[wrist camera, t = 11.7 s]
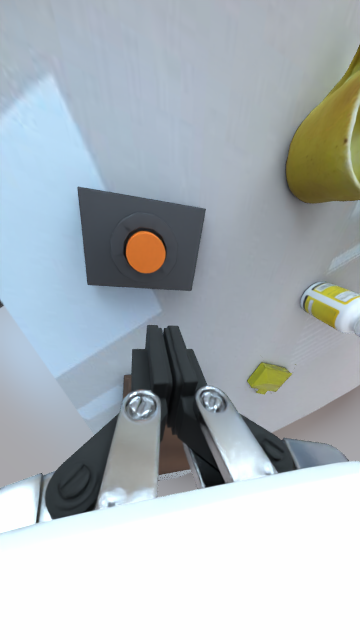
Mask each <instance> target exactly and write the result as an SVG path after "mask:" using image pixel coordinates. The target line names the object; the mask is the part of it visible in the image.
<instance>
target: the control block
mask: <svg viewBox="0 0 360 640" xmlns="http://www.w3.org/2000/svg"><path fill="white" fill-rule="evenodd" d="M78 196H79V206H80V216H81V225H82V235H83V244H84V254H85V264H86V273H87V283H88V285H99V286H116V287H133V288H150V289H167V290H184V291H191V290H192V284H193V278H194V273H195V267H196V261H197V256H198V250H199V244H200V239H201V233H202V227H203V222H204V216H205V210H206V209H204V208H198V207H192V206H187V205H181V204H175V203H169V202H164V201H158V200H152V199H146V198H140V197H135V196H129V195H123V194H117V193H112V192H106V191H100V190H94V189H89V188H83V187H78ZM140 231H148V232H151V233H153V234H155V235H156V236H157V237H158V238H159V239H160V240H161V242H162V243H163V245H164V248H165V260H164V263H163V265H162V266H161V267H160V268H159V269H158V270H157V271H155V272H152V273H141V272H138V271H137V270H135V269H134V268H133V267H132V266H131V265H130V264H129V262H128V260H127V257H126V248H127V243H128V241H129V239H130V237H131V236H132V235H134V234H135V233H137V232H140Z"/></svg>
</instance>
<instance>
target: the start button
mask: <svg viewBox="0 0 360 640" xmlns="http://www.w3.org/2000/svg"><path fill="white" fill-rule="evenodd" d="M126 257H127V260H128V262H129V264H130V265H131V266H132V267H133V268H134V269H135V270H137V271H138V272H141V273H152V272H155V271H157V270H158V269H159V268H160V267H161V266H162V265H163V263H164V260H165V248H164V245H163V243H162V242H161V240H160V239H159V238H158V237H157V236H156V235H155V234H153V233H151V232H148V231H140V232H137V233H135V234H134V235H132V236H131V237H130V239H129V241H128V243H127V248H126Z"/></svg>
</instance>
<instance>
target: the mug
mask: <svg viewBox="0 0 360 640" xmlns="http://www.w3.org/2000/svg"><path fill="white" fill-rule="evenodd" d="M286 177H287V182H288V186H289V188H290V190H291V192H292V193H293V194H294V195H295V196H296V197H297V198H298V199H299V200H301V201H303V202H305V203H323V202H330V201H355V200H360V45H359V47H358V50H357V52H356V54H355V56H354V58H353V60H352V62H351V64H350V66H349V68H348V70H347V71H346V73H345V75H344V76H343V77H342V79H341V80H340V81H339V82H338V83H337V84H336V86H335V87H334V88H333V89H332V90H331V92H330V93H329V94H328V95H327V96H326V97H325V99H324V100H323V101H322V102H321V103H320V104H319V105H318V106H317V107H316V108H315V109H313V110H312V111H311V113H310V114H309V115H308V116H307V117H306V119H305V120H304V121H303V122H302V123H301V125H300V126H299V128H298V129H297V131H296V133H295V135H294V137H293V139H292V141H291V144H290V148H289V154H288V159H287V162H286Z"/></svg>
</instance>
